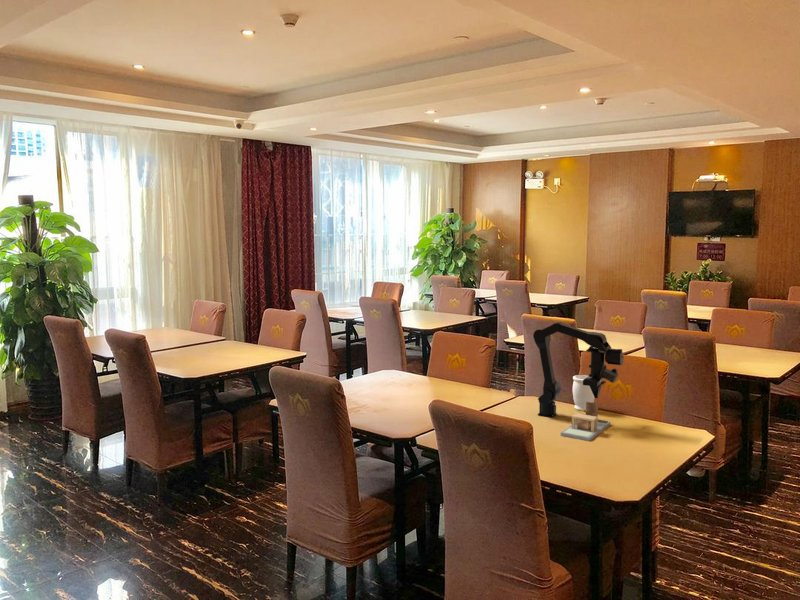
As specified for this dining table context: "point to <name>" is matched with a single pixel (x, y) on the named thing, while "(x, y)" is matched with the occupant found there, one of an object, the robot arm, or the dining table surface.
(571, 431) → the bridge deck
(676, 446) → the dining table surface
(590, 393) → the jar
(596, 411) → the wooden block
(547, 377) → the robot arm
